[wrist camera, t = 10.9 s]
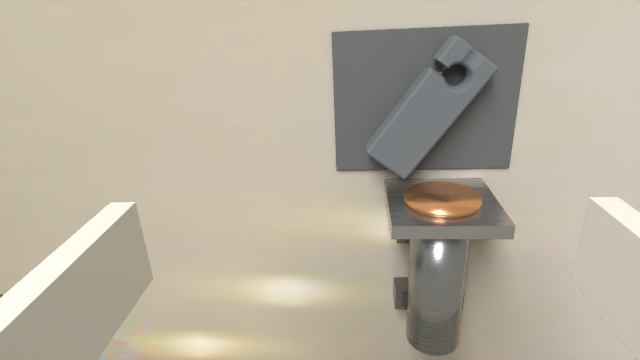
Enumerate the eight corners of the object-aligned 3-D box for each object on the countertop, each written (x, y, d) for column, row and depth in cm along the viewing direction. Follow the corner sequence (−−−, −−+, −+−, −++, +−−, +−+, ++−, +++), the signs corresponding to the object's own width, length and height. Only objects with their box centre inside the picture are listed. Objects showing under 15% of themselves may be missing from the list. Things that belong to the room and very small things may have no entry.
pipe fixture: (382, 303, 41) (388, 369, 33) (384, 175, 35) (391, 221, 28) (467, 304, 40) (492, 372, 32) (482, 173, 35) (516, 220, 27)
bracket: (363, 146, 34) (364, 154, 32) (450, 32, 30) (457, 34, 28) (402, 172, 34) (405, 182, 32) (491, 64, 31) (501, 68, 29)
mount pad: (336, 169, 35) (336, 170, 35) (331, 32, 31) (331, 32, 31) (508, 166, 34) (509, 167, 34) (527, 23, 30) (528, 23, 30)
